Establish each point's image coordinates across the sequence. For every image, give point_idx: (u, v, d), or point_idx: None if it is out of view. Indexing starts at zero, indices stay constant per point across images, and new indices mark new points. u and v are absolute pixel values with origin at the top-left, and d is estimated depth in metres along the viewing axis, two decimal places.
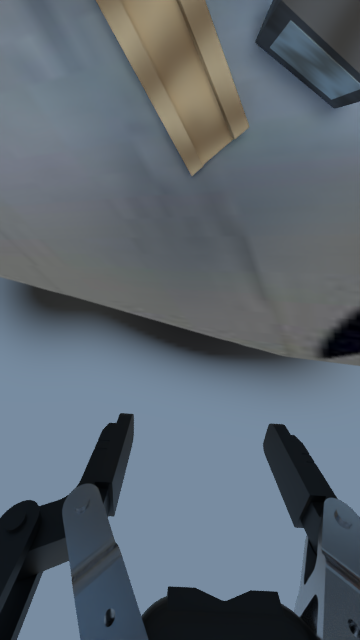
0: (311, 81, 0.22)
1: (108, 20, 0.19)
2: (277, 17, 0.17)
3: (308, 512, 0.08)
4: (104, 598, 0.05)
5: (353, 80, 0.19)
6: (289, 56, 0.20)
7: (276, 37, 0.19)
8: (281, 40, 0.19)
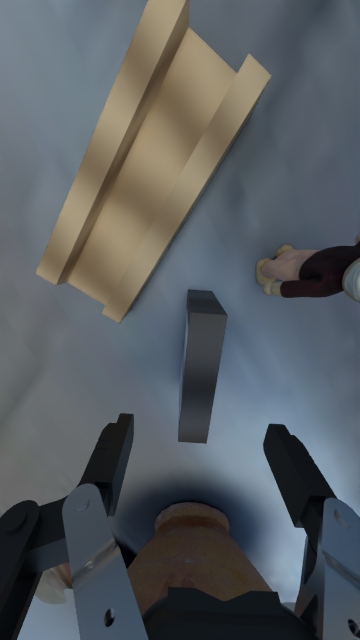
0: (182, 357, 0.22)
1: (117, 81, 0.12)
2: (189, 310, 0.15)
3: (308, 512, 0.08)
4: (104, 598, 0.05)
5: (180, 407, 0.18)
6: None
7: (187, 313, 0.18)
8: (186, 319, 0.18)
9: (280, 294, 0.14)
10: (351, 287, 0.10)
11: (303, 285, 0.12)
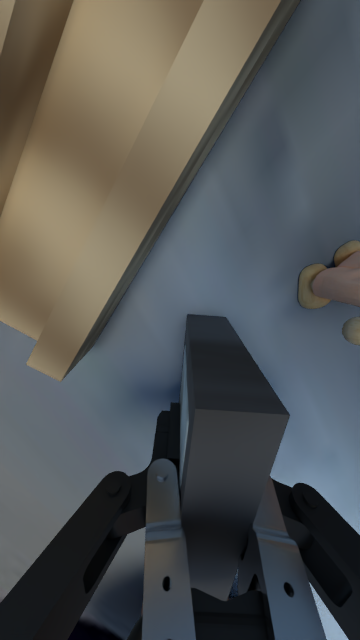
0: None
1: None
2: (190, 378, 0.07)
3: None
4: (165, 564, 0.05)
5: None
6: (182, 386, 0.11)
7: (186, 364, 0.10)
8: (184, 376, 0.10)
9: None
10: None
11: None
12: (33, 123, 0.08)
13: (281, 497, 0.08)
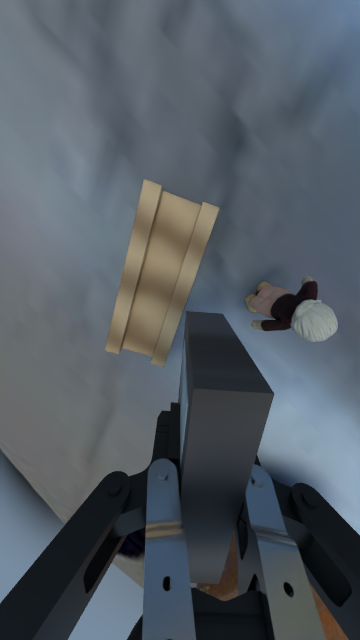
0: None
1: (132, 237, 0.21)
2: (189, 366, 0.08)
3: None
4: (166, 564, 0.05)
5: None
6: (181, 378, 0.12)
7: (185, 356, 0.11)
8: (184, 367, 0.11)
9: (262, 329, 0.21)
10: (294, 330, 0.17)
11: (273, 325, 0.20)
12: (139, 286, 0.25)
13: (281, 497, 0.08)
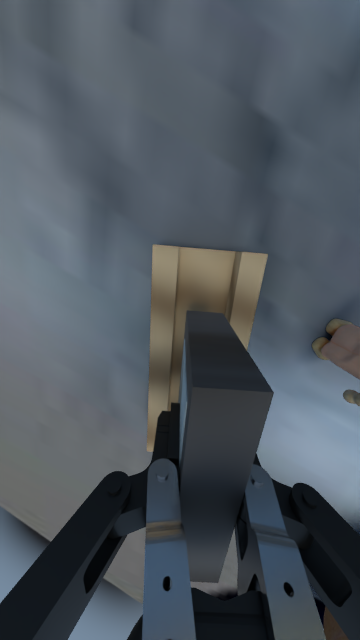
0: None
1: (152, 319, 0.15)
2: (189, 365, 0.08)
3: None
4: (166, 564, 0.05)
5: None
6: (181, 377, 0.12)
7: (185, 355, 0.11)
8: (184, 366, 0.11)
9: None
10: None
11: None
12: (171, 366, 0.19)
13: (281, 497, 0.08)
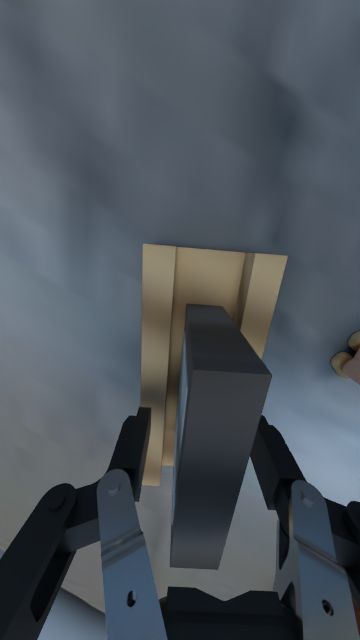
0: (177, 404, 0.14)
1: (143, 336, 0.13)
2: (189, 352, 0.08)
3: (279, 494, 0.09)
4: (128, 579, 0.05)
5: (173, 506, 0.10)
6: (181, 369, 0.12)
7: (185, 346, 0.11)
8: (184, 356, 0.11)
9: None
10: None
11: None
12: (168, 388, 0.16)
13: (334, 516, 0.08)
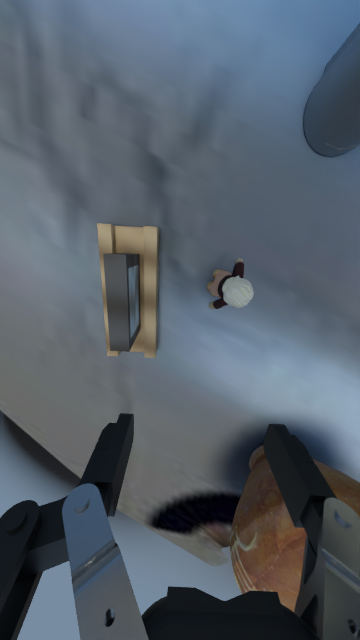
0: None
1: (101, 266, 0.28)
2: None
3: (308, 512, 0.08)
4: (104, 598, 0.05)
5: None
6: None
7: None
8: None
9: (215, 308, 0.27)
10: (227, 302, 0.23)
11: (218, 302, 0.25)
12: None
13: None
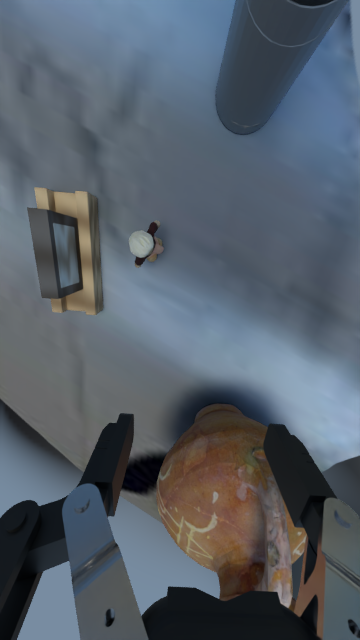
0: None
1: None
2: None
3: (308, 512, 0.08)
4: (104, 598, 0.05)
5: None
6: None
7: None
8: None
9: (137, 265, 0.31)
10: None
11: (136, 258, 0.29)
12: None
13: None
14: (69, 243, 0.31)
